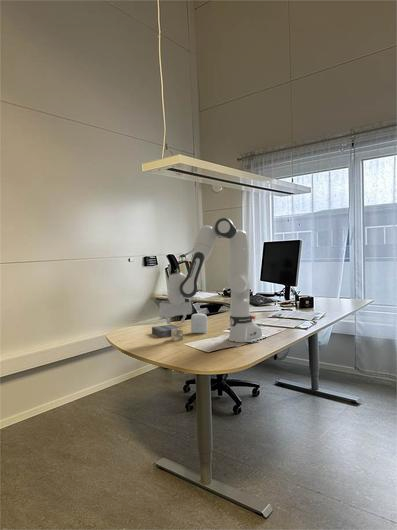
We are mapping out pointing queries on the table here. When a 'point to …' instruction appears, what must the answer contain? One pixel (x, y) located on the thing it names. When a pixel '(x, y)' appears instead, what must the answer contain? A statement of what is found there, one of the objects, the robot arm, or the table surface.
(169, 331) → the riser block
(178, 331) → the ash block
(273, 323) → the table surface
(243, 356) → the table surface
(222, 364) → the table surface
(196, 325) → the photo printer
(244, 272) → the robot arm
